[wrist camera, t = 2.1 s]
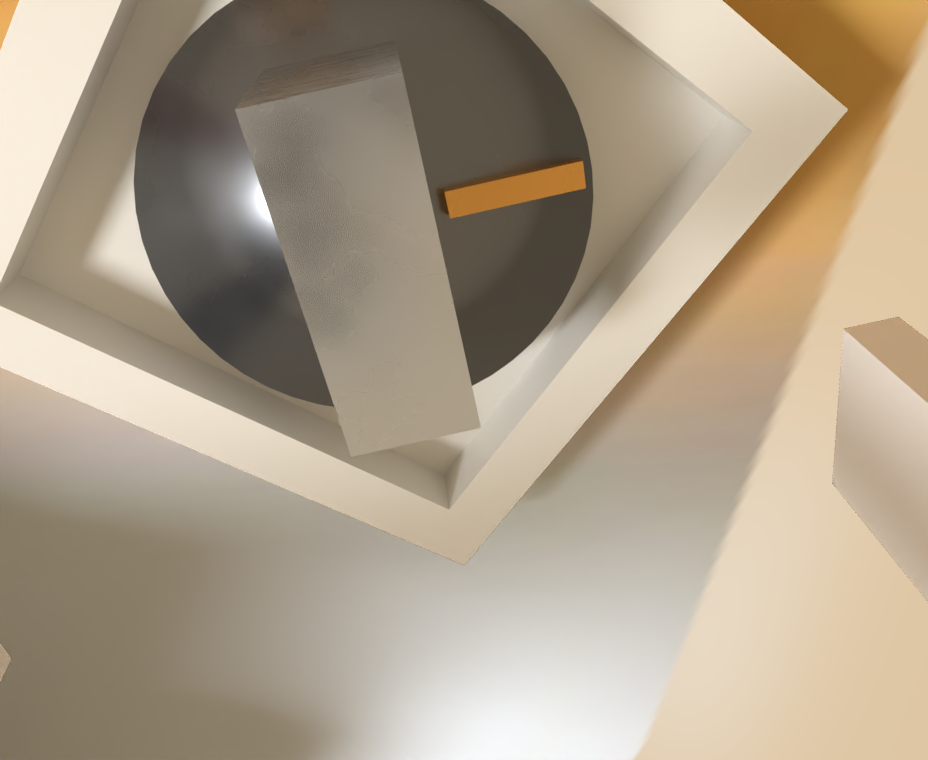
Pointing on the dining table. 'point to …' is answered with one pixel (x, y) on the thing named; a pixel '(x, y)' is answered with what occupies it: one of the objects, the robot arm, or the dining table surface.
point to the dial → (365, 202)
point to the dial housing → (497, 397)
